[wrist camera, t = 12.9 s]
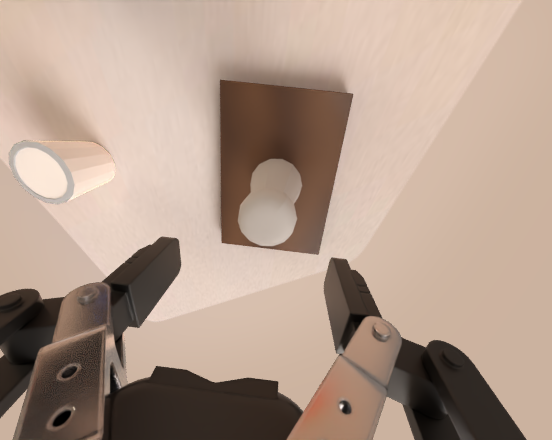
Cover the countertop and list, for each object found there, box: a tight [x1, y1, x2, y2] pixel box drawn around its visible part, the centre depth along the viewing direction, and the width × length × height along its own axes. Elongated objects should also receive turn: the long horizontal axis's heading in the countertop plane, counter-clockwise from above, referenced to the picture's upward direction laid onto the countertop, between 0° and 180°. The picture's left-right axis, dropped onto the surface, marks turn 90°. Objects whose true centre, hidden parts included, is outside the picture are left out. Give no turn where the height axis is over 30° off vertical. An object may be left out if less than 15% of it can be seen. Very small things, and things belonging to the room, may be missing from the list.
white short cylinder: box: [9, 141, 116, 204], centre depth 26 cm, size 7×7×7 cm
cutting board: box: [220, 80, 353, 255], centre depth 28 cm, size 14×20×2 cm
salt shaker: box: [238, 159, 302, 246], centre depth 21 cm, size 6×6×13 cm
